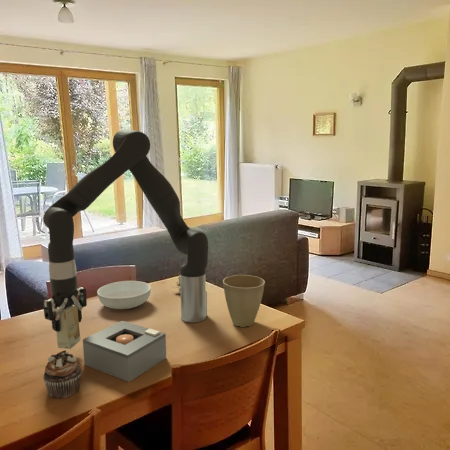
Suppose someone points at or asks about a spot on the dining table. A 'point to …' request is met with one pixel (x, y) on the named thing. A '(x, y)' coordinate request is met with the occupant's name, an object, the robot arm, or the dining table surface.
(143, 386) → the dining table surface
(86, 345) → the grey square box
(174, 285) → the architectural model
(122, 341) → the button
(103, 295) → the serving bowl
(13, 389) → the dining table surface
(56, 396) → the cupcake
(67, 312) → the skincare box
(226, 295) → the plant pot
